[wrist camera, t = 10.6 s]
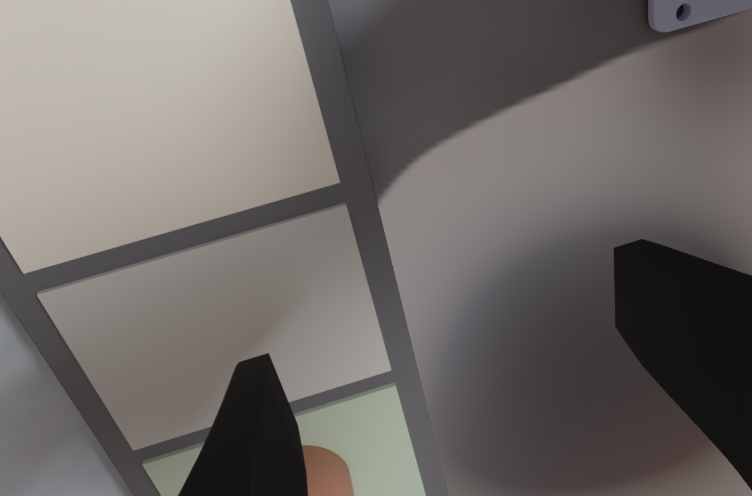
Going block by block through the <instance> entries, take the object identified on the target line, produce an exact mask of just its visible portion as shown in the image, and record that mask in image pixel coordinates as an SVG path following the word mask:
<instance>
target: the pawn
mask: <svg viewBox="0 0 752 496" xmlns="http://www.w3.org/2000/svg"><path fill="white" fill-rule="evenodd" d="M302 449H303V455H304V461H305V467H306V472H307V486H308V496H354V491H353V486H352V481H351V476H350V471H349V468H348V466H347V464H346V462H345V461H344V460H343V459H342V458H341V457H340V456H339V455H338V454H336V453H334V452H333V451H331V450H328V449H326V448H322V447H318V446H309V445H302Z"/></svg>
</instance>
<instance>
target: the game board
mask: <svg viewBox="0 0 752 496" xmlns="http://www.w3.org/2000/svg"><path fill="white" fill-rule="evenodd" d="M0 292H1V293H2V295H3V296H4V298H5V299H6V301H7V302H8V304H9V305H10V307H11V308H12V310H13V311H14V313H15V314H16V316H17V318H18V319H19V321H20V322H21V324H22V325H23V327H24V328H25V330H26V331H27V333H28V334H29V336H30V337H31V339H32V340H33V342H34V343H35V345H36V347H37V348H38V350H39V351H40V353H41V354H42V356H43V357H44V359H45V360H46V362H47V363H48V365H49V366H50V368H51V369H52V371H53V372H54V374H55V375H56V377H57V379H58V380H59V382H60V383H61V385H62V386H63V388H64V389H65V391H66V392H67V394H68V395H69V397H70V398H71V400H72V401H73V403H74V404H75V406H76V407H77V409H78V411H79V412H80V414H81V415H82V417H83V418H84V420H85V421H86V423H87V424H88V426H89V427H90V429H91V430H92V432H93V433H94V435H95V436H96V438H97V440H98V441H99V443H100V444H101V446H102V447H103V449H104V450H105V452H106V453H107V455H108V456H109V458H110V459H111V461H112V462H113V464H114V465H115V467H116V468H117V470H118V472H119V473H120V475H121V476H122V478H123V479H124V481H125V482H126V484H127V485H128V487H129V488H130V490H131V491H132V493H133V494H134V496H178V494H179V493H180V491H181V489H182V487H183V485H184V483H185V481H186V479H187V477H188V475H189V473H190V471H191V469H192V467H193V465H194V463H195V461H196V460H197V458H198V456H199V453H200V451H201V449H202V447H203V445H204V443H205V440H206V438H207V436H208V434H209V431H210V429H211V427H212V425H213V422H214V420H215V418H216V415H217V413H218V410H219V408H220V406H221V403H222V401H223V398H224V396H225V393H226V390H227V388H228V385H229V382H230V380H231V377H232V374H233V372H234V369H235V367H236V365H237V364H238V362H241V361H244V360H247V359H250V358H254V357H257V356H260V355H264V354H267V353H269V355H270V357H271V360H272V362H273V365H274V367H275V370H276V372H277V375H278V377H279V380H280V382H281V385H282V387H283V390H284V392H285V394H286V397H287V399H288V402H289V404H290V407H291V409H292V412H293V414H294V417H295V419H296V422H297V424H298V427H299V433H300V438H301V444H302V445H309V446H318V447H322V448H326V449H328V450H331V451H333V452H334V453H336V454H338V455H339V456H340V457H341V458H342V459H343V460H344V461H345V462H346V464H347V466H348V468H349V471H350V476H351V481H352V486H353V491H354V496H449V495H448V491H447V487H446V483H445V479H444V475H443V471H442V467H441V463H440V458H439V454H438V450H437V446H436V442H435V438H434V435H433V430H432V426H431V422H430V417H429V414H428V409H427V406H426V401H425V397H424V393H423V389H422V385H421V381H420V376H419V372H418V368H417V364H416V360H415V356H414V352H413V348H412V344H411V340H410V335H409V331H408V327H407V323H406V319H405V315H404V311H403V307H402V303H401V299H400V294H399V290H398V287H397V282H396V278H395V274H394V270H393V266H392V262H391V258H390V254H389V249H388V245H387V241H386V237H385V233H384V229H383V225H382V221H381V217H380V212H379V208H378V204H377V200H376V196H375V192H374V188H373V184H372V180H371V176H370V171H369V167H368V163H367V159H366V155H365V151H364V147H363V143H362V139H361V135H360V131H359V126H358V122H357V118H356V114H355V110H354V106H353V102H352V98H351V94H350V90H349V85H348V81H347V77H346V73H345V69H344V65H343V61H342V57H341V53H340V49H339V44H338V40H337V36H336V32H335V28H334V24H333V20H332V16H331V12H330V8H329V3H328V0H0Z"/></svg>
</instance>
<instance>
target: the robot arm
mask: <svg viewBox="0 0 752 496" xmlns="http://www.w3.org/2000/svg"><path fill="white" fill-rule="evenodd" d="M682 4H683V8H684V9H683V13H682V14H681V16H680V17H679V18H677V17H676V12H677V9H678V8H679V7H680V6H681V5H682ZM748 9H752V0H648V21H649V25H650V27H651V28H652V29H653V30H656V31H659V32H670V31H674V30H677V29H681V28H684V27H688V26H691V25H695V24H699V23H702V22H706V21H709V20H713V19H716V18H720V17H723V16H727V15H730V14H734V13H738V12H741V11H745V10H748ZM614 277H615V278H614V279H615V280H614V281H615V282H614V283H615V326H616V328H617V330H618V331H619V333H620V334H621V336H622V337H623V339H624V340H625V342H626V343H627V345H628V346H629V348H630V349H631V350H632V352H633V353H634V355H635V356H636V357H637V359H638V360H639V362H640V363H641V364H642V366H643V367H644V368H645V369H646V370H647V371H648V373H649V374H650V375H651V376H652V377H653V378H654V379H655V380H656V381H657V382H658V384H659V385H660V386H661V387H662V388H663V389H664V390H665V391H666V393H668V395H669V396H670V397H671V398H672V399H673V400H674V401H675V402H676V403H677V404H678V406H679V407H680V408H681V409H682V410H683V411H684V412H685V413H686V414H687V415H688V416H689V417H690V419H691V420H692V421H693V422H694V423H695V424H696V425H697V426H698V427H699V428H700V429H701V430H702V432H703V433H704V434H705V435H706V436H707V437H708V438H709V439H710V440H711V441H712V442H713V443H714V444H715V446H716V447H717V448H718V449H719V450H720V451H721V452H722V454H723V455H724V456H725V457H726V458H727V459H728V460H729V462H730V463H731V464H732V465H733V466H734V468H735V469H736V470H737V471H738V473H739V474H740V475H741V477H742V478H743V479H744V481H745V482H746V483H747V485H748V486H749V487H750V489H751V490H752V276H751V275H748V274H744V273H742V272H739V271H736V270H733V269H730V268H727V267H724V266H721V265H718V264H715V263H712V262H709V261H707V260H704V259H701V258H698V257H695V256H692V255H689V254H687V253H684V252H680V251H678V250H675V249H672V248H669V247H666V246H663V245H660V244H657V243H653V242H650V241H647V240H643V239H641V240H638V241H634V242H631V243H628V244H625V245H622V246H618V247H615V248H614ZM178 496H308V486H307V472H306V467H305V461H304V455H303V449H302V444H301V438H300V433H299V427H298V424H297V422H296V419H295V417H294V414H293V412H292V409H291V407H290V404H289V402H288V399H287V397H286V394H285V392H284V390H283V387H282V385H281V382H280V380H279V377H278V375H277V372H276V370H275V367H274V365H273V362H272V360H271V357H270V355H269V353H267V354H264V355H260V356H257V357H254V358H250V359H247V360H244V361H241V362H238V364H237V365H236V367H235V369H234V372H233V374H232V377H231V380H230V382H229V385H228V388H227V390H226V393H225V396H224V398H223V401H222V403H221V406H220V408H219V410H218V413H217V415H216V418H215V420H214V422H213V425H212V427H211V429H210V431H209V434H208V436H207V438H206V440H205V443H204V445H203V447H202V449H201V451H200V453H199V456H198V458H197V460H196V461H195V463H194V465H193V467H192V469H191V471H190V473H189V475H188V477H187V479H186V481H185V483H184V485H183V487H182V489H181V491H180V493H179V494H178Z"/></svg>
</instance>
